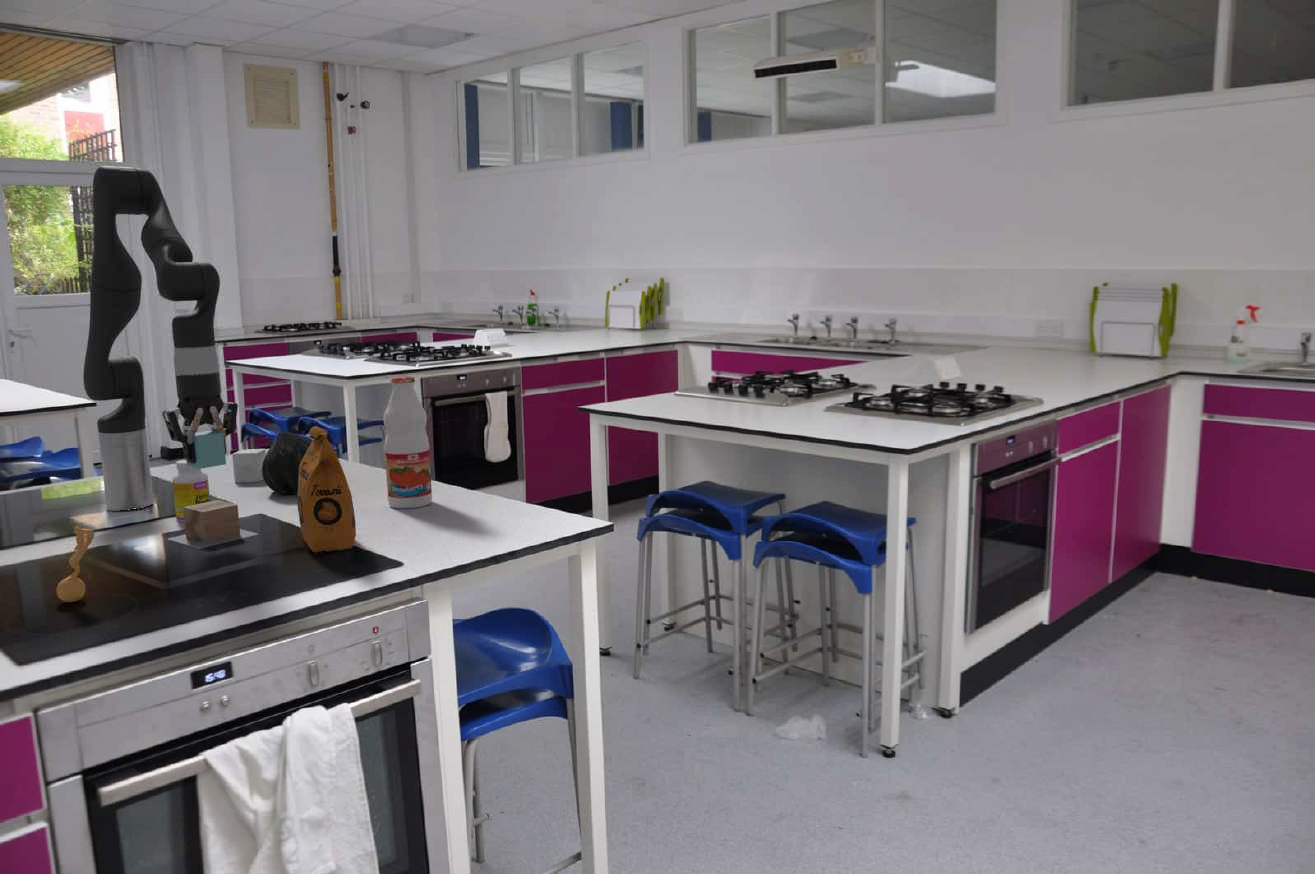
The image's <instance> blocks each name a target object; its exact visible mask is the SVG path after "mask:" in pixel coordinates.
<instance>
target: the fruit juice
mask: <svg viewBox="0 0 1315 874" xmlns="http://www.w3.org/2000/svg"><path fill="white" fill-rule="evenodd" d="M415 382H416V381H415V376H413V375H401V376H400V375H398V376H393V377H391V378H390V383H391V386H392V390H391V391H392V392H391V394H390V397H389V401H388V404H387V407H386V409H385V411H384V413H383V416H382V417H383V425H384V427H385V430H386V434H385V438H384V460H385V470H386V471H385V474H386V488H387V489H386V491H387V501H388V502H387V503H388V505H389V507H391V508H392V509H393V508H394V509H415V508H416V509H417V508H421V507H427V506H428V505H430V504H431V503H432V501H433V492H432V476H431V475H432V474H431V473H432V471H431V459H430V457H431V456H430V455H431V454H430V442H429V436H428V433H427V432H426V425H427V422H428V421H427V420H428V418H427V417H428V416H427V412H426V410H425V408H424V407H423V406H422V403H421V402H420V399H419V397H418V395H417V392H416V389H415V387H414V385H415Z"/></svg>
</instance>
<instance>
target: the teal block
mask: <svg viewBox="0 0 1315 874" xmlns="http://www.w3.org/2000/svg"><path fill="white" fill-rule="evenodd" d="M193 444H195V454H196V463H188V462H187V466H190V467H195V468H200V469H201V470H203V469H206V468H212V467H217V466H223V465H227V458H226V457H227V456H226V455H225V446H224V436H223V433H220V432H219V433H218V432H212V431H211V430H204V431H200V432H198V431H197V432H196V433H195V436H194V441H193ZM186 461H187V460H186Z"/></svg>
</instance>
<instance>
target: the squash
mask: <svg viewBox="0 0 1315 874" xmlns="http://www.w3.org/2000/svg"><path fill="white" fill-rule="evenodd" d="M312 441H313V439H311V438H309V437H307V436H303V435H300V434H298V433H294V432H290V431H279V433H278V434H277V435H276V436H275V438H274V440H273V442H272V443H271V445H270V447H269V449H268V451H267V452H266V456H265V458H264V461H263V464H262V476H263V479H264V480H263V481H264V483H265V485H266V486H267V487H268V488H269V489H271V491H273V492H276V493H280V494H283V495H287V496H288V495H293V494H297V495H298V476H299V465H300V463H301V461H302V459H303V457H304V455H305V453H306V451H307V450H308V448H309V446H310V445H311V443H312Z"/></svg>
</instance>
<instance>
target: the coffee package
mask: <svg viewBox="0 0 1315 874" xmlns="http://www.w3.org/2000/svg"><path fill="white" fill-rule="evenodd" d="M309 436H310V437H313V439H312V440H313V441H312V443H311V445H310V446H309V448H308V450H307V451H306V453H305V455H304V457H303V459H302V461H301V463H300V465H299V476H298V494H297V512H298V519H299V526H300V531H301V535H302V538H303V539H304V542H305V543H306V545H307V546H308V548H309V549H310V550H311V551H312V552H313V553H314V552H316V551H322V550H339V549H344V548H348V547H352V546H354V547H355V541H356V536H357V532H356V531H357V529H356V518H355V517H356V516H355V509H354V503H353V502H354V501H353V496H352V495H353V494H352V493H351V492H352V491H351V490H350V486H349V484H348V481H347V480H348V479H347V478H346V475H345V472H344V469H343V467H342V465H341V462H340V458H339V457H338V456H339V455H338V453H337V451H336V450H335V448H334V447H333V445H332V444H331V442H330V441H329V440H328V439H327V437H328V431H327V430H326V429H323V428H321V427H319V426H317V425H315V426H312V427H311V428H310V429H309Z"/></svg>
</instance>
